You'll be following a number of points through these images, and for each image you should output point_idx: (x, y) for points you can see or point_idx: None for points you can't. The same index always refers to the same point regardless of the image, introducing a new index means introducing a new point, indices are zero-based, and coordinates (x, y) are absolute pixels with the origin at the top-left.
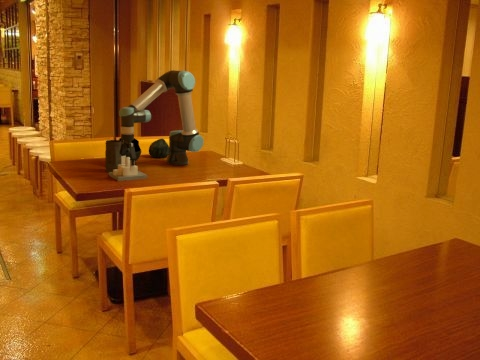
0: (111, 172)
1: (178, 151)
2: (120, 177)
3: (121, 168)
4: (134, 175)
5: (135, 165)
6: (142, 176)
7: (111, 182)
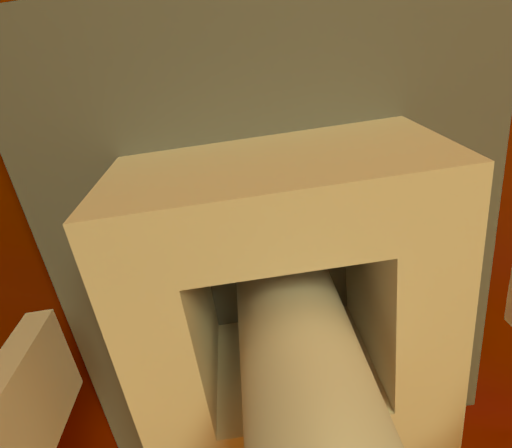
0: (132, 433)
1: None
2: (468, 383)
3: None
4: None
5: (342, 186)
6: (507, 46)
7: (467, 431)
